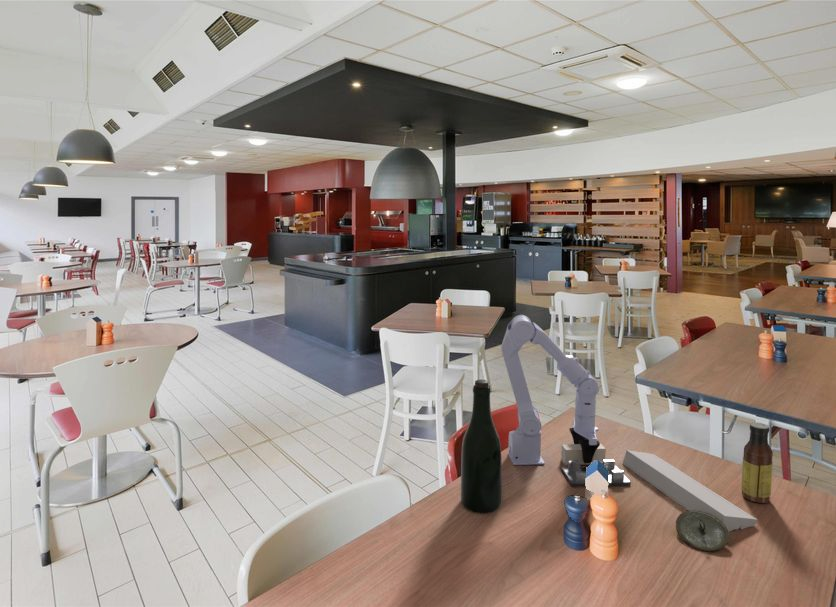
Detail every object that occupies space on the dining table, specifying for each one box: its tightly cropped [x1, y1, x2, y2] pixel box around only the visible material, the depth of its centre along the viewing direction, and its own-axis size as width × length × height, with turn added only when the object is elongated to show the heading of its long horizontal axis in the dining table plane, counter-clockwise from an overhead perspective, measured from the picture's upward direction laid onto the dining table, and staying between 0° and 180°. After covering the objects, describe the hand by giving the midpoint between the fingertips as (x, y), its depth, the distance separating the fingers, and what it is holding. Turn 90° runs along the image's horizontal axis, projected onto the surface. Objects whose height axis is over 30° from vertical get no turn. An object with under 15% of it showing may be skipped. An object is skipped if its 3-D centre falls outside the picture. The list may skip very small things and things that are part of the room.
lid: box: [675, 510, 730, 552], centre depth 109 cm, size 11×10×5 cm
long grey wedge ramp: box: [622, 449, 758, 532], centre depth 129 cm, size 34×5×10 cm
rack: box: [561, 459, 632, 488], centre depth 136 cm, size 16×9×4 cm, turn 91°
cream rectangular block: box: [560, 442, 607, 466], centre depth 145 cm, size 12×4×5 cm, turn 92°
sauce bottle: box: [741, 422, 774, 504], centre depth 124 cm, size 6×6×20 cm
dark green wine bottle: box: [460, 379, 503, 514], centre depth 122 cm, size 10×10×33 cm
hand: (583, 457), depth 146 cm, fingers open, 6 cm apart
